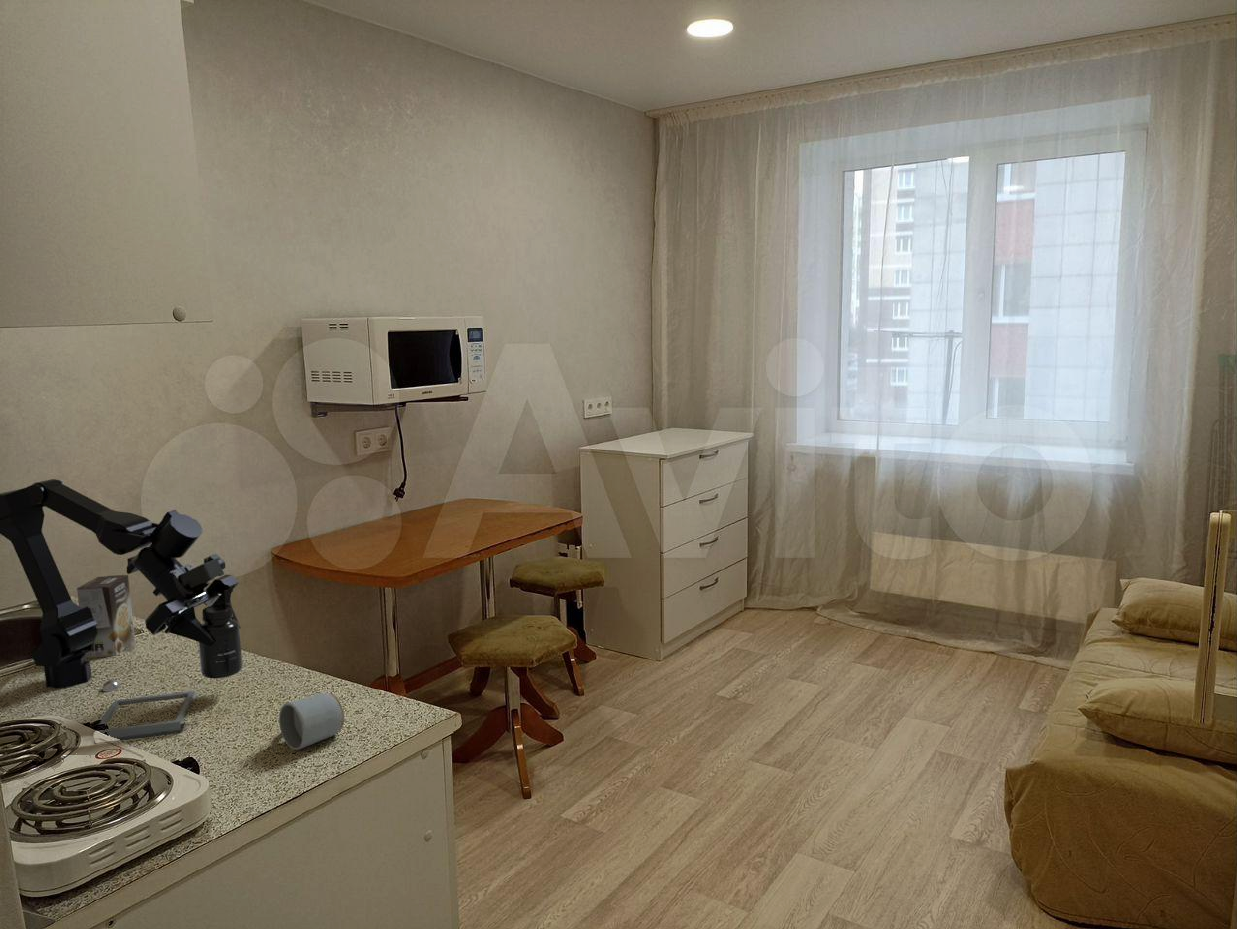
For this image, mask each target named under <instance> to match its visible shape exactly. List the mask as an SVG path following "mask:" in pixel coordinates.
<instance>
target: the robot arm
mask: <svg viewBox="0 0 1237 929" xmlns="http://www.w3.org/2000/svg"><path fill="white" fill-rule="evenodd" d="M43 508H48V509H49V510H51V511H53V512H55V513H56V514H59V515H61V516H63V517H65V518H67V519H68V520H70V521H72V522H75V523H76V524H78V525H80V526H81V527H83V528H86V529H88V530H89V531H91V532H92V533H93V534H94V535H95V537H96V538H97V541H98V542H99V543H100V544H101V545H102V546H104V547H105V548H106V549H107V550H109V551H110V553H113V554H114V555H117V556H121V555H122V556H123V555H126V554H130V553H132V552H135V551H138V550H139V551H138V552H137V554H136V555H133V556H131V557H129V558H127V565H126V575H131V574H134V573H137V572H138V571H139V572H140V573H141V574H142V575H143V577H144V578H146V579H147V580H148V581H149V583H150V584H151V585H152V586H153V587H154V589H153V591H152V594H153V595H154V596H155V597H158V596H161V595H162V596H163V598H165V599H166V601H164V602H161V603H159V604H158V605H157V606H156V608H155V609H154V610H152V612H151V613H150V614H149V615H148V617H146V619H145V620H144V621H145V629H147V631H148V632H149V633H151V635H152V636H155V635H157V634H159V633H162V632H163V631H164V632H163V633H165V634H169V633H170V634H172V635H177V636H179V637H183V638H186V639H189V640H192V641H195V642H198V643H199V642H200V643H203V644H206V645H209V646H212V645H213V644H214V643H215V641H214V639H213V638H212V636H211V635H210V634H209V633H208V631H207V630H206V629H205V628H204V627H203V626H202V624H203V623H201V622H200V621H199V619H198V618H197V617H196V613H195V611H196V610H195V608H196V607H198V606H200V605H202V604H204V605H205V606H206V607H209V606H213V605H222V604H223V605H224V604H225V605H230V606H231V607H232V614H233V617H232V618H231V619H234V620H235V621H237V622H238V624H239V628H240V629H241V625H240V623H239V620H238V617H237V615H236V613H235V611H234V609H233V605H232V602H231V596H232V594H233V593H234V590H235V588H237V586H238V585H239V584H240V582H239V581H238V579H237V578H235V576H234V575H233V574H225V572H224V570H225V569H226V562H225V560H223V558H222V557H221V556H219V555H218V554H217V553H214V554H211V555H209V556H208V557H205V558H204V559H203V563H201V564H200V565H197V566H196V567H194V566H193V565H192V564H189V563H188V564H186V565H183V564H181V562H180V561H179V560H178V559H179V558H182V557H184V556H185V554H186V553H187V552H188V551H189V549H190V548H191V547H192V546H194V544H195V542H196V541H198V540H199V538H200V537H201V535H202V534H203V527H202V525H201V524H200V522H199V521H198V520H197V519H195V518H193V517H191V516H189V515H186V514H183V513H180V512H178V511H177V510H176V509H173V510H170V511H166V513H165V514H164V515H163V517H162V519H161V521H160V522H159V523H156V522H153V521H151V520H150V519H149V518H147V517H145V516H142V515H138V514H136V513H132V512H126V511H121V510H120V511H119V510H115V509H111V508H109V507H107V506H105V505H103V504H102V503H99V502H98V501H96V500H94V499H92V498H90V497H88V496H86V495H84V494H82V493H80V492H78V491H77V490H75V489H72V488H71V487H69V486H67V485H65V483H64V482H63V481H61V480H60V479H55V478H50V479H46V480H41V481H37V482H33V483H32V484H30V485H28V486H26V487H23V488H17V489H14V490H10V491H4V492H1V493H0V535H1V536H3V537H4V538H6V539H7V540H8V541H10V543H11V544H12V547H13V549H14V550H15V553H16V555H17V557H18V560H19V562H20V564H21V567H22V568H23V571H24V573H25V575H26V578H27V580H28V582H29V585H30V587H31V589H32V591H33V594H34V596H35V598H36V600H37V603H38V605H39V607H40V610H41V611H42V612H41V613H42V616H41V622H40V627H39V632H40V636H41V639H42V642H41V643H40V645H39V646H38V647H37V649H36V650H35V651H34V652H33V653H32V655H31V657H32V660H33V662H34V664H35V666H37V667H43V670H44V678H45V686H46V688H53V689H65V688H70V687H74V686H75V687H76V686H78V685H81V684H82V685H83V684H87V683H89V682H90V680H91V679H92V677H93V675H92V668H91V661H89V660H87V658H86V653H87V652H90V651H92V650H93V645H94V641H95V638H96V636H97V628H96V625H98V624H97V622H96V621H95V620H94V618H93V616H92V613H91V609H90V608H89V607H88V606H85V607H83V608H81V607H80V606H79V604H77V603H75V602H73V599H72V598H71V595H70V593H69V591H68V588H67V586H66V584H65V581H64V579H63V577H62V575H61V573H60V570H59V567H58V566H57V562H56V561H55V559H54V556H53V554H52V552H51V550H50V548H49V545H48V543H47V541H46V538H45V537H44V534H43V525H44V521H45V512H44V509H43ZM217 577H218V578H217ZM215 578H216V579H215ZM212 580H213V581H212ZM211 581H212V582H211ZM166 626H167V627H166Z"/></svg>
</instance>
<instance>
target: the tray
mask: <svg viewBox="0 0 1237 929" xmlns="http://www.w3.org/2000/svg"><path fill="white" fill-rule="evenodd" d="M195 694H196V693H195V690H193V691H191V690H190V691H183V692H177V693H167V694H158V695H150V696H149V695H148V696H142V697H133V698H125V699H124V698H123V699H117V700H114V702H113V703H112V704H111V706H110V707H109V709H108V711H107V712H106V713H105V715H104V716H103V718H102V719H101V721H100V722H99V723H102V724H105V726H106V725H107V724H108V722H109V721H110V719H111V718H112V716H113V715H114V713H115V712H116V710H117V709H118V708H119V705H126V704H127V705H128V704H136V703H143V702H151V701H161V700H169V699H178V698H185V697H186V698H185V700H184V702H183V704H182V706H181V708H180V710H179V712H178V715H177V716H176V718H175V720H168V721H161V722H153V723H144V724H137V725H127V726H121V727H120V726H119V727H114V728H113V727H111V728H106V729H105V728H104V729H105V730H100V732H102V733H105V732H107V734H108V735H110V736H111V737H114V738H117V739H120V740H122V741H127V740H128V741H129V740H136V739H137V740H138V739H143V738H151V737H159V736H168V735H174V734H175V735H176V734H181V733H182V731H183V729H184V727H185V725H186V723H185V722H184V723H182V721H183V719H184V717H185V715H186V713H187V711H188V710H189V707H190V704H191V702H192V701H193V699H194V696H195Z"/></svg>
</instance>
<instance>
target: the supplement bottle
mask: <svg viewBox="0 0 1237 929" xmlns="http://www.w3.org/2000/svg"><path fill="white" fill-rule="evenodd" d="M232 608H233V606H232V607H231V606H230V605H225V604H224V605H223V604H222V605H213V606H209V607H208V606H206V607H204V608H203V609H202V619H201V620H202V621H203V623H201V624H202V626H203V627H204V628H205V629H206V630H207V631H208V633H209V634H210V635H211V636H212V638H213V639H214V641H215V643H214V644H213V645H212V646H209V645H206V644H203V643H200V642H198V649H199V661H200V663H199V664H200V673H201V675H202V676H203V677H204V678H207V679H213V680H214V679H217V680H218V679H224V678H228V677H232V676H234V675H235V676H236V675H237V674H238V673H239V672H240V671H242V668H243V657H242V656H243V655H242V644H241V643H242V642H241V627H240V628H239V625H240V623H239V621H238V622H237V621H235V620H234V619H231V618H232V617H233V614H232ZM238 623H239V624H238Z"/></svg>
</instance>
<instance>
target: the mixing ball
mask: <svg viewBox="0 0 1237 929" xmlns="http://www.w3.org/2000/svg"><path fill="white" fill-rule="evenodd" d="M121 688H122V685H121V682H119V681H118V680H116V679H111V680H108V681H105V683H104V684H103V686H102V692H104V693H110V692H115V691H118V690H119V689H121Z"/></svg>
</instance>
